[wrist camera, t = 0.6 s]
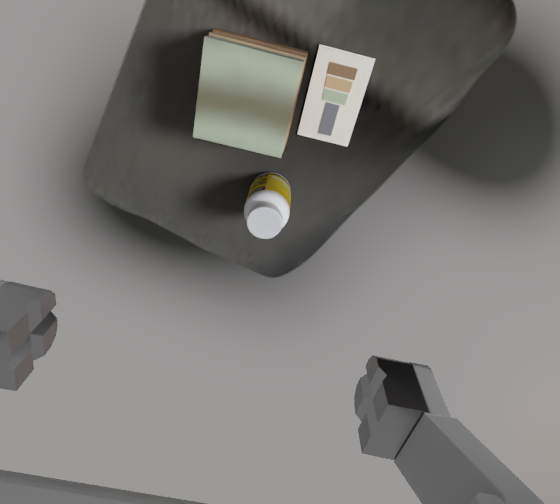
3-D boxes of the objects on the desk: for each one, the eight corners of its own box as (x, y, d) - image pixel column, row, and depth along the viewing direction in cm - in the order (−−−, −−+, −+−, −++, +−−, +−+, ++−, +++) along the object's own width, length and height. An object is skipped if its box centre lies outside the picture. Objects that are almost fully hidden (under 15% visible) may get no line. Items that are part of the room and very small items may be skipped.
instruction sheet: (319, 44, 43) (319, 44, 43) (375, 58, 44) (375, 59, 43) (297, 134, 48) (297, 134, 48) (347, 146, 49) (347, 147, 49)
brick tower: (218, 28, 43) (200, 30, 35) (307, 51, 44) (309, 58, 36) (206, 120, 48) (188, 140, 40) (286, 139, 49) (284, 162, 41)
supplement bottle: (266, 162, 50) (260, 191, 42) (299, 188, 52) (299, 220, 43) (242, 193, 53) (231, 226, 44) (274, 216, 54) (269, 253, 46)
